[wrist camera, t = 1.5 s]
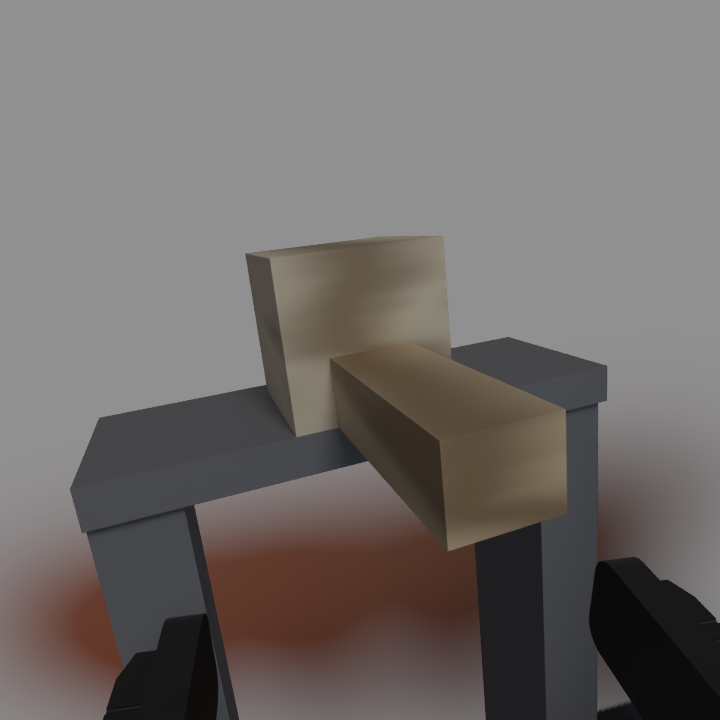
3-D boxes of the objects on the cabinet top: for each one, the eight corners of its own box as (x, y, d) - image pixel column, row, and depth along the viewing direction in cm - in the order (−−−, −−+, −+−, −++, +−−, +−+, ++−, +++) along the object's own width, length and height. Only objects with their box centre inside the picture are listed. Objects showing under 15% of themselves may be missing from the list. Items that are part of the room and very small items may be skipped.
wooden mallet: (392, 365, 25) (380, 236, 24) (620, 496, 13) (624, 233, 11) (267, 391, 24) (245, 253, 22) (381, 572, 11) (347, 273, 9)
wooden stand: (526, 795, 37) (508, 337, 28) (603, 914, 30) (607, 366, 22) (229, 940, 31) (99, 417, 23) (244, 1126, 24) (69, 489, 16)
